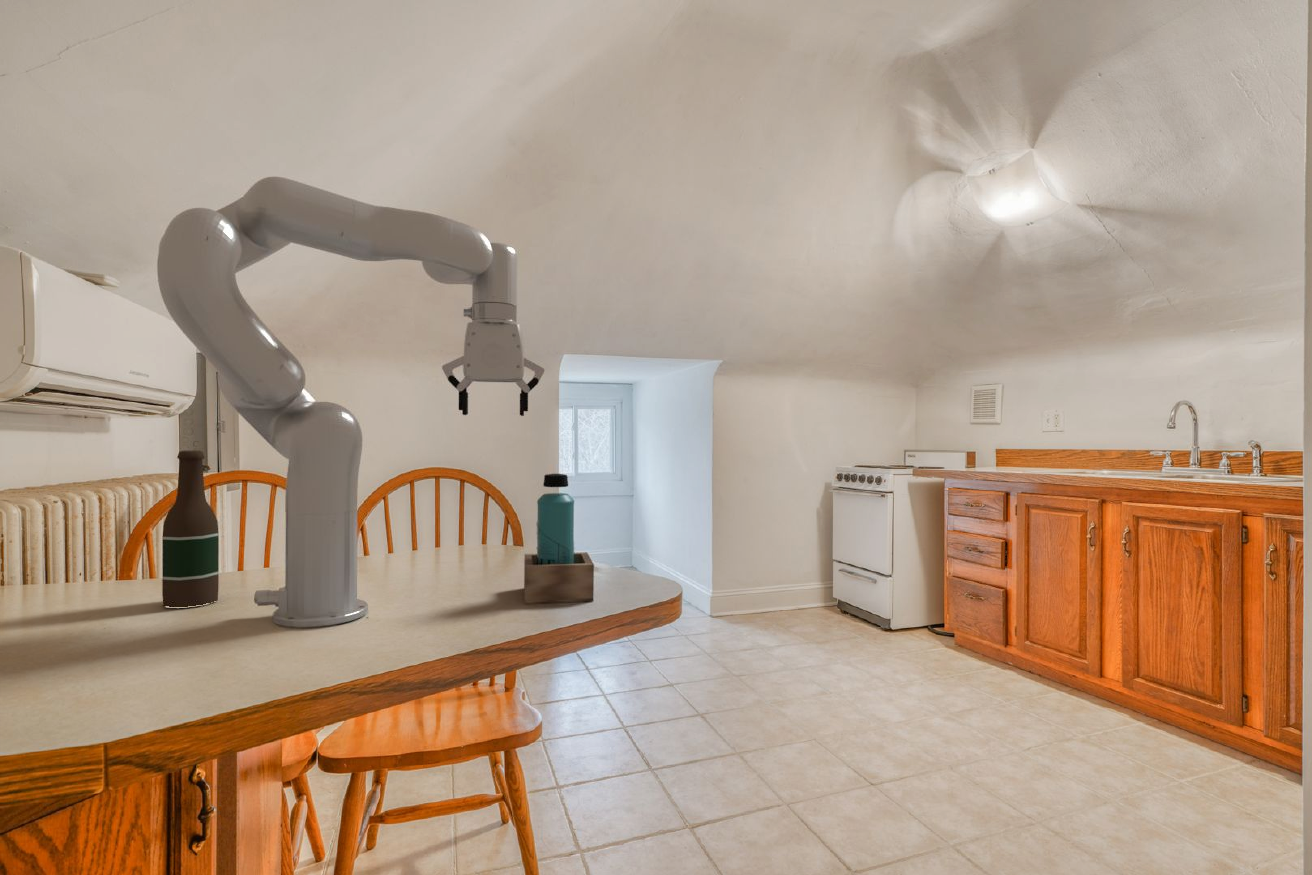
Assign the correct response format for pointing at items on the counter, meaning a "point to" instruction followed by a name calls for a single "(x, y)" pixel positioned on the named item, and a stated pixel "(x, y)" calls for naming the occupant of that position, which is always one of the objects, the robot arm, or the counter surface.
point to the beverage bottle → (555, 524)
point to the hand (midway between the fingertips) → (493, 415)
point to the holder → (558, 580)
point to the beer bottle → (190, 540)
